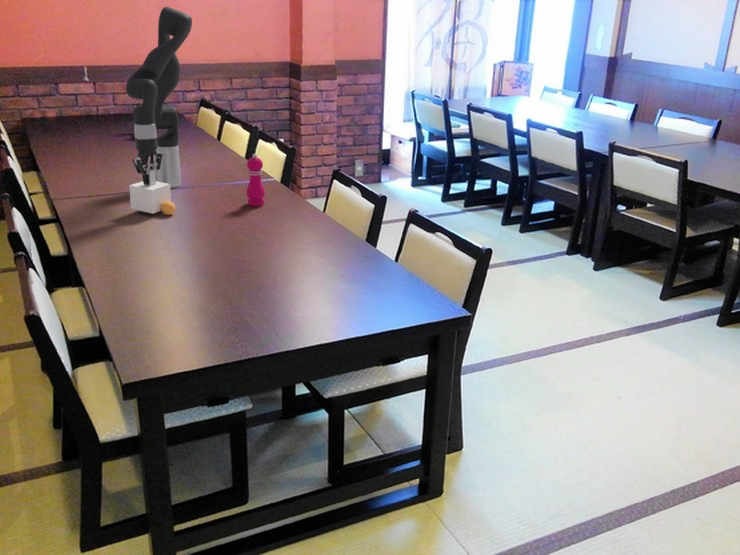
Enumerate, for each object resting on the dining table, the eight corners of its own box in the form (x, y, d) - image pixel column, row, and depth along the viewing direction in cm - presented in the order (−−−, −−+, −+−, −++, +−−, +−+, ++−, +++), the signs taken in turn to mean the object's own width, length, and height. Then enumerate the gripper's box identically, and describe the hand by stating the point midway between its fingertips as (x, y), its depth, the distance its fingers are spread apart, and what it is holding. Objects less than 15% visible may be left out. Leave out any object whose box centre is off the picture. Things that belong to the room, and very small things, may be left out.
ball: (156, 209, 250) (162, 200, 248) (165, 206, 255) (171, 197, 252) (165, 219, 250) (171, 210, 248) (174, 215, 255) (180, 207, 252)
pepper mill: (268, 203, 271) (267, 153, 264) (258, 207, 265) (257, 156, 257) (253, 200, 274) (252, 151, 266) (243, 204, 268) (241, 154, 260)
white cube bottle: (130, 208, 251) (128, 170, 246) (149, 201, 260) (147, 164, 254) (153, 213, 248) (151, 174, 242) (171, 206, 257) (169, 169, 251)
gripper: (150, 132, 251) (154, 178, 258) (123, 138, 239) (128, 186, 246) (167, 134, 249) (170, 180, 255) (140, 140, 236) (145, 189, 243)
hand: (150, 183), depth 250 cm, fingers closed on white cube bottle, 3 cm apart
